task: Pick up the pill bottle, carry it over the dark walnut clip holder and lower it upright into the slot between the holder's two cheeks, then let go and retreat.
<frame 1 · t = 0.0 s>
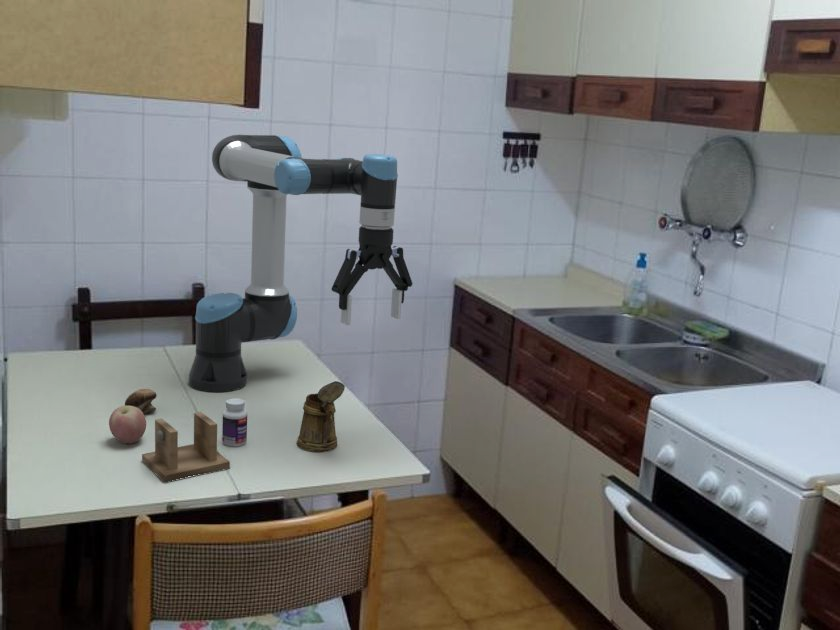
hand: (371, 320, 199), 28 cm above the table, fingers open, 13 cm apart
holder: (185, 464, 184), on the table
mushroom: (141, 412, 211), on the table
apple: (127, 442, 194), on the table
pill bottle: (234, 443, 198), on the table
wooden mug: (320, 449, 198), on the table
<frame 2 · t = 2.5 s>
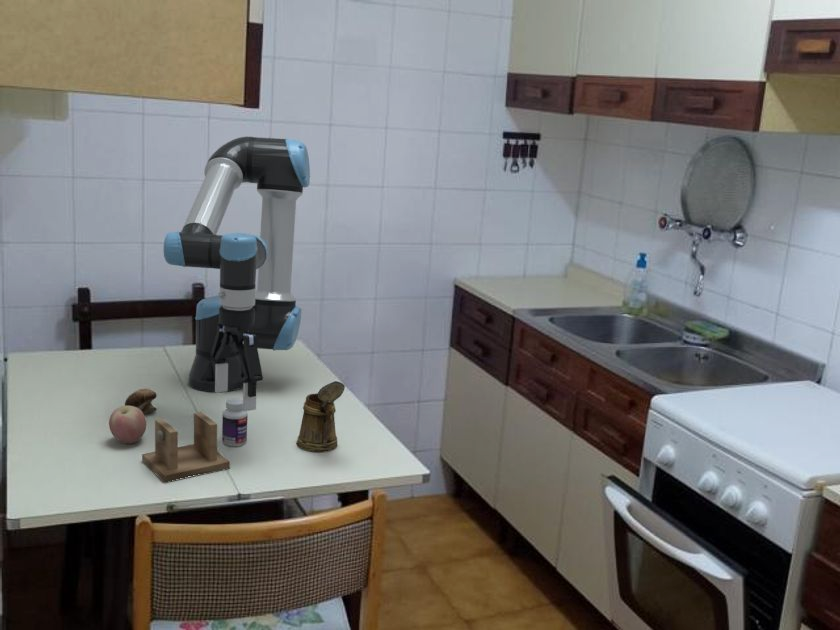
hand: (234, 400, 195), 10 cm above the table, fingers open, 13 cm apart
nothing on the table moved.
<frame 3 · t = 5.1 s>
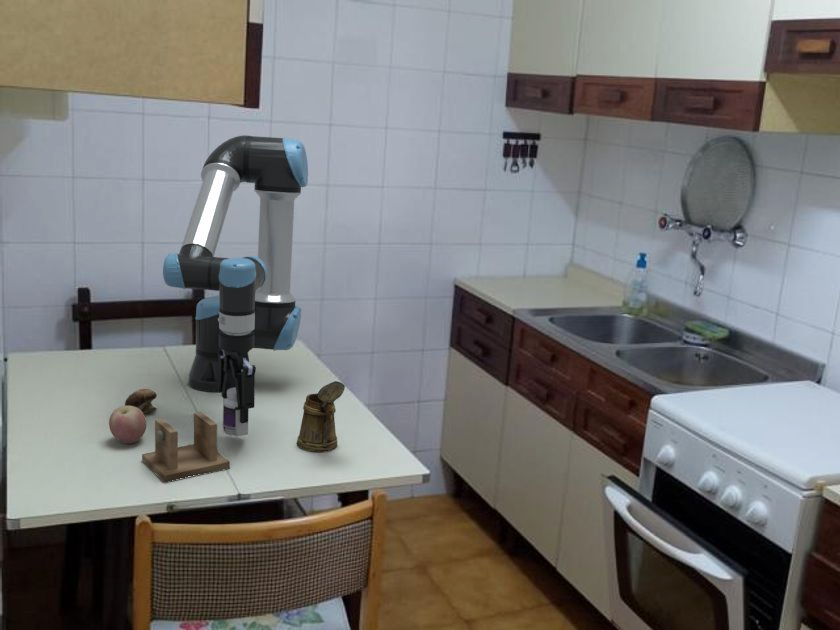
hand: (235, 429, 197), 3 cm above the table, fingers closed on pill bottle, 5 cm apart
pill bottle: (235, 432, 198), point 2 cm above the table, touching gripper
everything else where it was.
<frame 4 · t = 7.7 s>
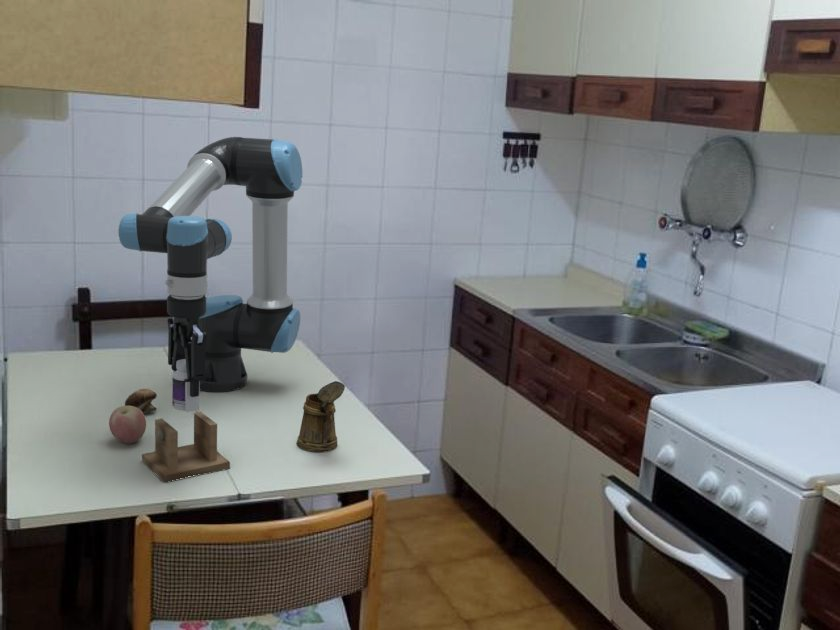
hand: (186, 405, 181), 13 cm above the table, fingers closed on pill bottle, 5 cm apart
pill bottle: (186, 407, 181), point 13 cm above the table, touching gripper
everything else where it was.
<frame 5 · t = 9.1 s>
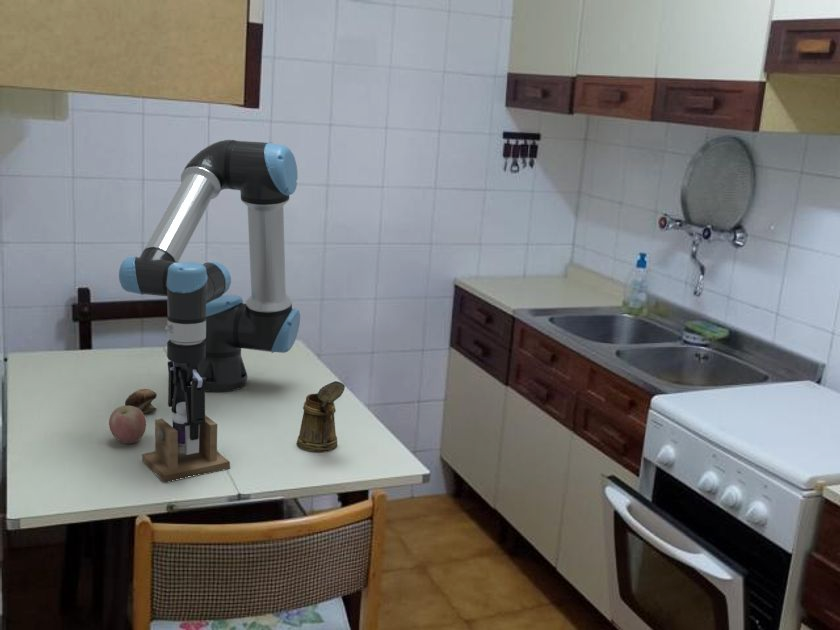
hand: (185, 447, 183), 4 cm above the table, fingers closed on pill bottle, 5 cm apart
pill bottle: (185, 449, 184), point 3 cm above the table, touching gripper
everything else where it was.
when the fingers open (3 cm above the table, at t = 10.1 s): pill bottle stays where it is, resting on holder.
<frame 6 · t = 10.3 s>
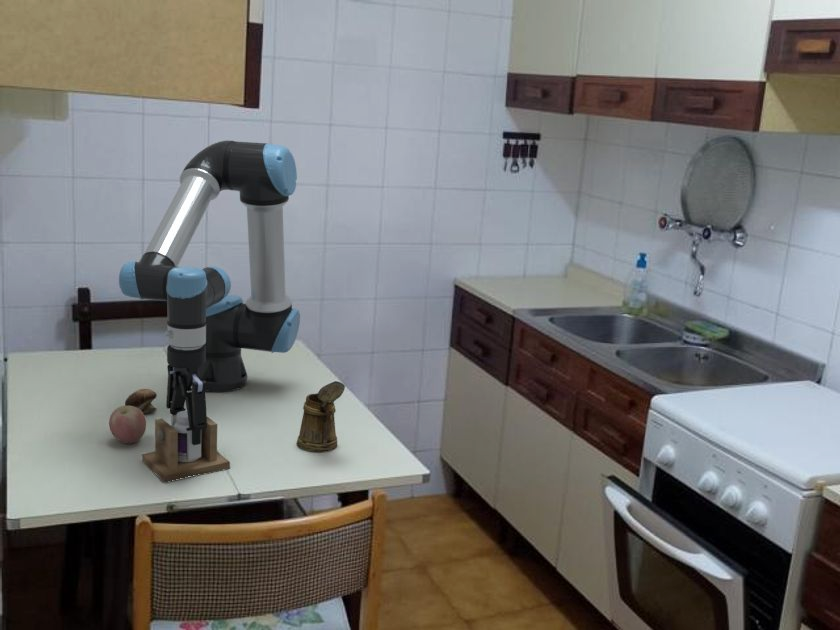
hand: (185, 450, 184), 3 cm above the table, fingers open, 7 cm apart
pill bottle: (186, 458, 184), point 1 cm above the table, touching holder
everything else where it was.
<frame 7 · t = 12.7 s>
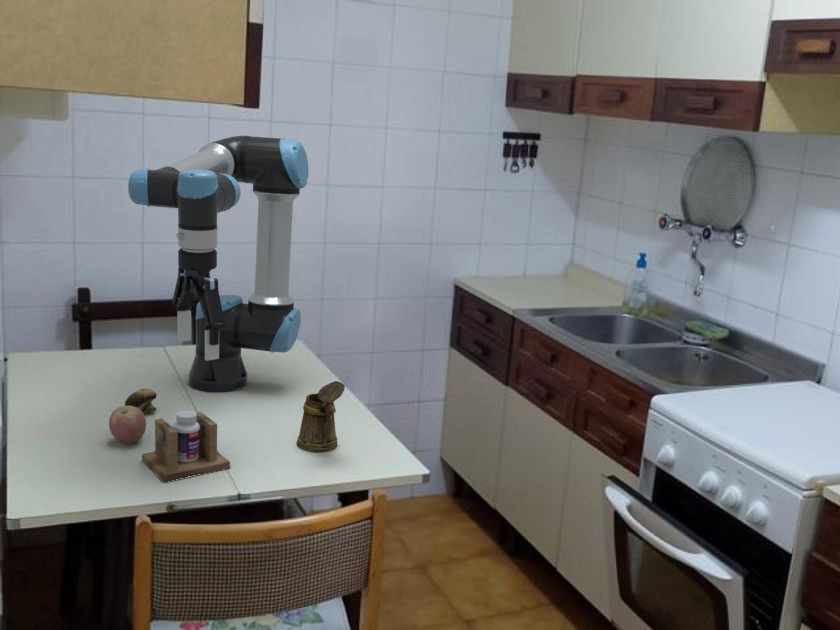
hand: (197, 349, 183), 24 cm above the table, fingers open, 13 cm apart
nothing on the table moved.
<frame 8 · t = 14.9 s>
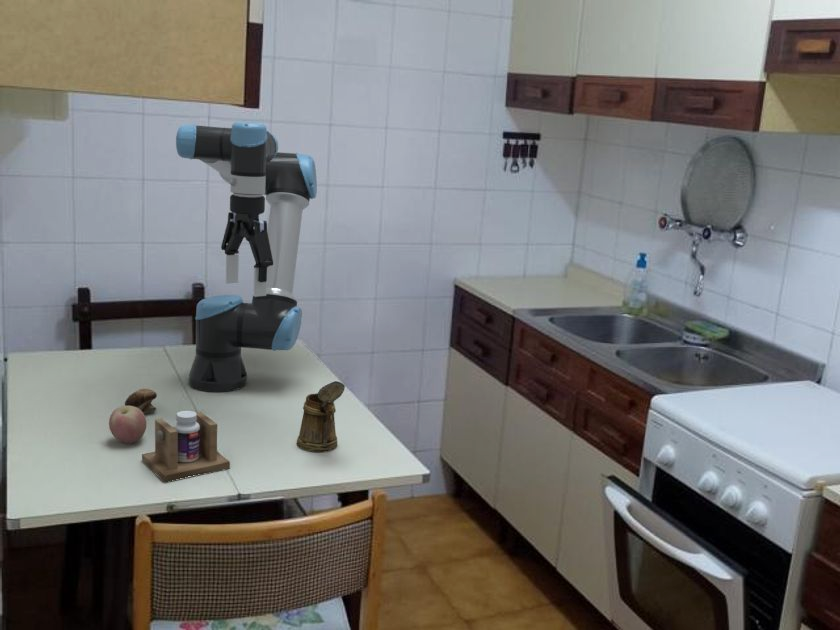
hand: (245, 289, 199), 33 cm above the table, fingers open, 13 cm apart
nothing on the table moved.
at the end: pill bottle inside the target area on the holder (0.1 cm from its centre), point 1.3 cm above the holder's base; pill bottle tilted 0°; the gripper is holding nothing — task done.
